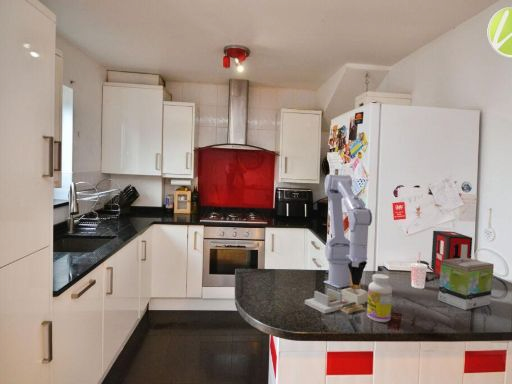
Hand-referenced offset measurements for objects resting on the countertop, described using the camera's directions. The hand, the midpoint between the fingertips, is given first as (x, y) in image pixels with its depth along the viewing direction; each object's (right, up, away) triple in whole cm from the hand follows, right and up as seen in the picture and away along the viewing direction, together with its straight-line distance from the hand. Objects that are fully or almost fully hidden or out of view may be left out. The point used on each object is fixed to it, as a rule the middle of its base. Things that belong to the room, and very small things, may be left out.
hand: (356, 283), depth 110 cm
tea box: (+39, -8, +3) cm, 40 cm away
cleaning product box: (+51, -7, +33) cm, 61 cm away
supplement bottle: (+2, -7, -14) cm, 16 cm away
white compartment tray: (-11, -6, -5) cm, 13 cm away
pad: (-11, -4, -5) cm, 13 cm away
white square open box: (0, -6, 0) cm, 6 cm away
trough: (-4, -6, -8) cm, 11 cm away
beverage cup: (+31, -7, +19) cm, 37 cm away
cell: (0, -2, 0) cm, 2 cm away
